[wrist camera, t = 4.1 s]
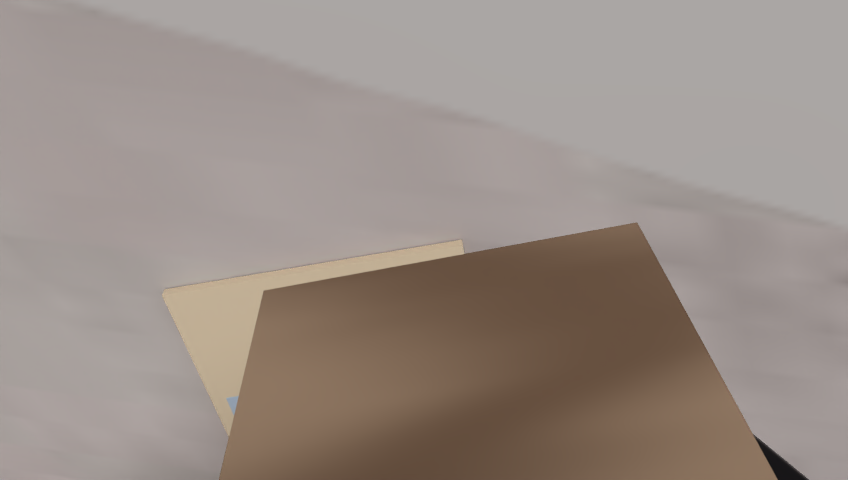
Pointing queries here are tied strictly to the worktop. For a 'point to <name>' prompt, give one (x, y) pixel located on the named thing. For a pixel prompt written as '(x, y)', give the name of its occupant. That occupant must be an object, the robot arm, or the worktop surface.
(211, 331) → the letter
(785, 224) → the worktop surface
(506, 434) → the block
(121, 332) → the worktop surface
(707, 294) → the worktop surface
